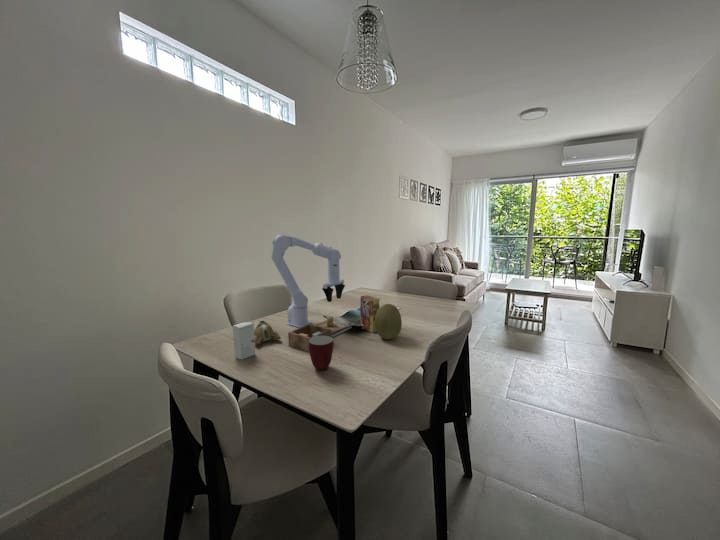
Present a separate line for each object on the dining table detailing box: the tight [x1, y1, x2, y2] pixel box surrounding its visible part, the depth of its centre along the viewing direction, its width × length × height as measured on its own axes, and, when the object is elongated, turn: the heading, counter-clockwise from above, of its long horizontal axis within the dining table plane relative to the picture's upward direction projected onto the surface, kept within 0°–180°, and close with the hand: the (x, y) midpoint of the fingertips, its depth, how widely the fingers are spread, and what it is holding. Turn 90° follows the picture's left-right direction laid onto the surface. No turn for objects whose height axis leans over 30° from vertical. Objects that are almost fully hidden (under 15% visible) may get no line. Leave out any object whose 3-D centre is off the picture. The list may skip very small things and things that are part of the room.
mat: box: [325, 319, 353, 339], centre depth 135 cm, size 16×16×1 cm
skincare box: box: [232, 321, 256, 361], centre depth 106 cm, size 6×4×12 cm
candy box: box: [360, 294, 380, 334], centre depth 133 cm, size 9×4×15 cm, turn 39°
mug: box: [308, 336, 334, 372], centre depth 96 cm, size 10×8×10 cm
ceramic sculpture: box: [253, 319, 282, 345], centre depth 121 cm, size 11×9×15 cm
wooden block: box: [315, 316, 348, 335], centre depth 135 cm, size 13×13×5 cm
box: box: [287, 323, 332, 353], centre depth 118 cm, size 12×12×6 cm
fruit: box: [375, 303, 403, 340], centre depth 122 cm, size 11×11×15 cm
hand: (334, 299), depth 146 cm, fingers open, 7 cm apart
